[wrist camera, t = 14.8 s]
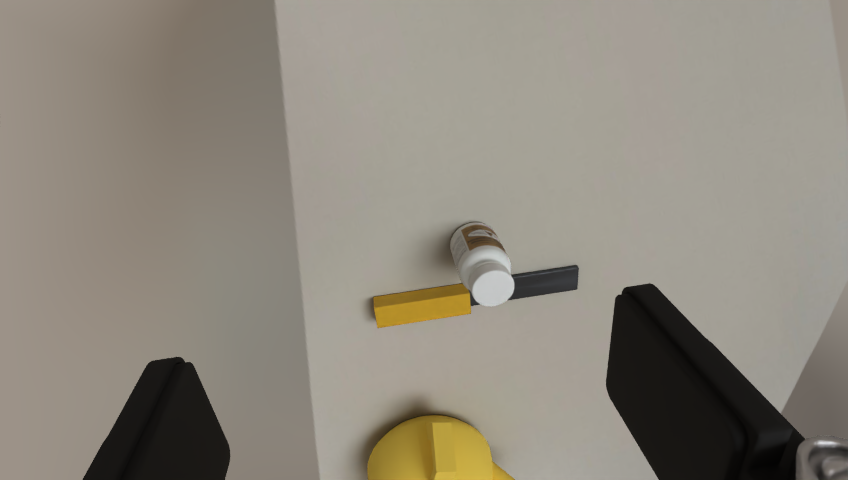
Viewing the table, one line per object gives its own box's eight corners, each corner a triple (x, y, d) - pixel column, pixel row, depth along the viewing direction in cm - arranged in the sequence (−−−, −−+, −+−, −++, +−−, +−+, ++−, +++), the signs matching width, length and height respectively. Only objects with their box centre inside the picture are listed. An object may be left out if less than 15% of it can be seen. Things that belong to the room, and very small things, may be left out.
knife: (377, 317, 47) (377, 329, 46) (373, 295, 46) (373, 307, 45) (575, 286, 48) (582, 297, 47) (576, 264, 47) (584, 274, 46)
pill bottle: (503, 227, 44) (529, 272, 38) (485, 267, 46) (507, 316, 39) (459, 215, 43) (478, 259, 36) (442, 256, 45) (457, 305, 38)
